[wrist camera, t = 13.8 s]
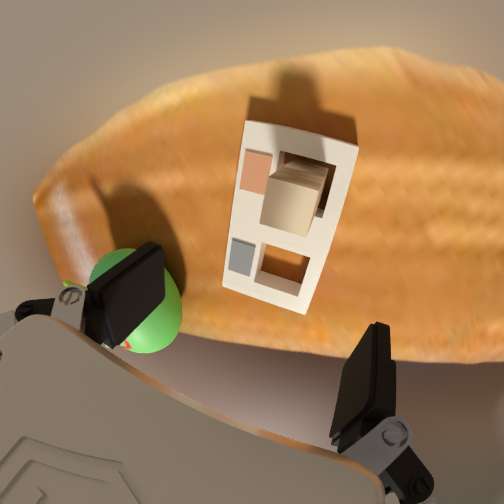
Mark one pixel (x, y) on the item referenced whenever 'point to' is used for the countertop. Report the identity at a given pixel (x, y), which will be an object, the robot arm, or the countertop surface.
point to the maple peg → (293, 196)
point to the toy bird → (158, 322)
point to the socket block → (257, 235)
